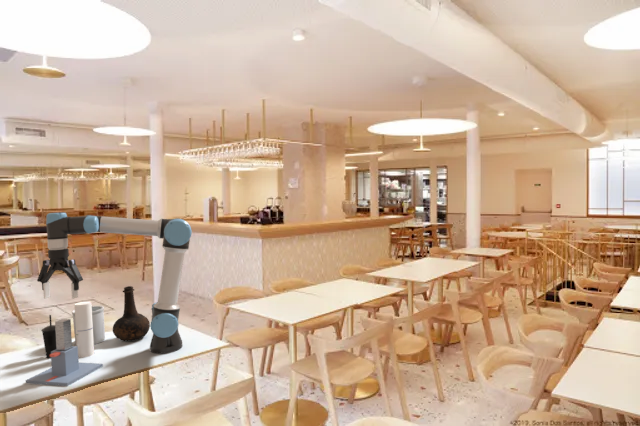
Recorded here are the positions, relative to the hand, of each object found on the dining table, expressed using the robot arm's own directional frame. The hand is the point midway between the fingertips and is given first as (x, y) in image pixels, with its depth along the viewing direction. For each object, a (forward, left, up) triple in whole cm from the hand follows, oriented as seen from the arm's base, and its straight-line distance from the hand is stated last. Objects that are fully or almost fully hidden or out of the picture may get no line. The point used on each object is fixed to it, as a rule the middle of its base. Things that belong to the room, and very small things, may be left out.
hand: (61, 297), depth 185 cm
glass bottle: (-1, -44, -33) cm, 55 cm away
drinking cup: (+22, -16, -33) cm, 42 cm away
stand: (-2, +2, -32) cm, 33 cm away
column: (-2, +2, -31) cm, 31 cm away
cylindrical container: (+7, -20, -33) cm, 39 cm away
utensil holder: (+19, -37, -33) cm, 53 cm away
